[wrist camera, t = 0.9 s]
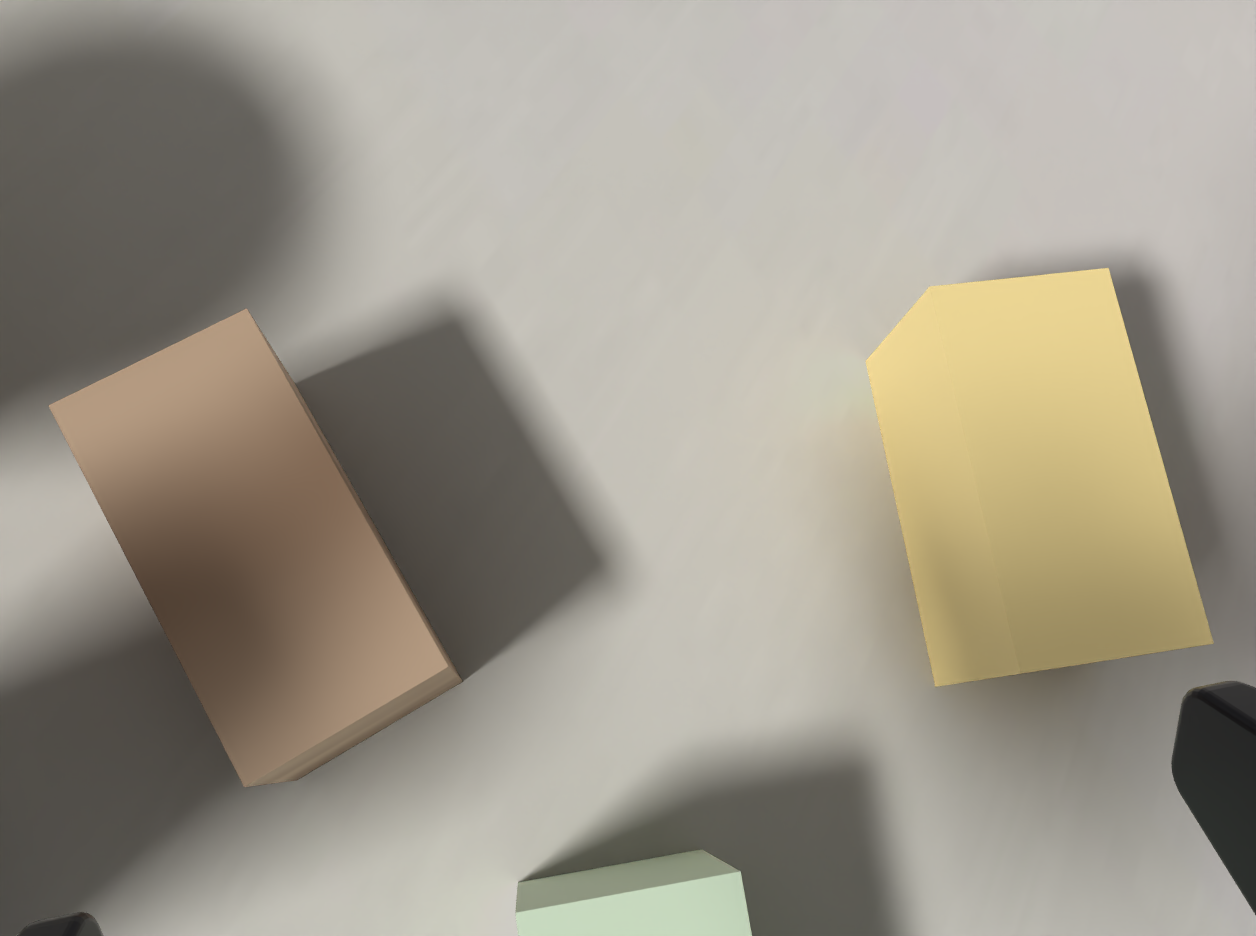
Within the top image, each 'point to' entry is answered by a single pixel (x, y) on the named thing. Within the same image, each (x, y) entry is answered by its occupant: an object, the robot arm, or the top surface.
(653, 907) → the sage brick
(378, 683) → the walnut brick
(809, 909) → the top surface
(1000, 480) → the ochre brick
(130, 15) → the top surface
